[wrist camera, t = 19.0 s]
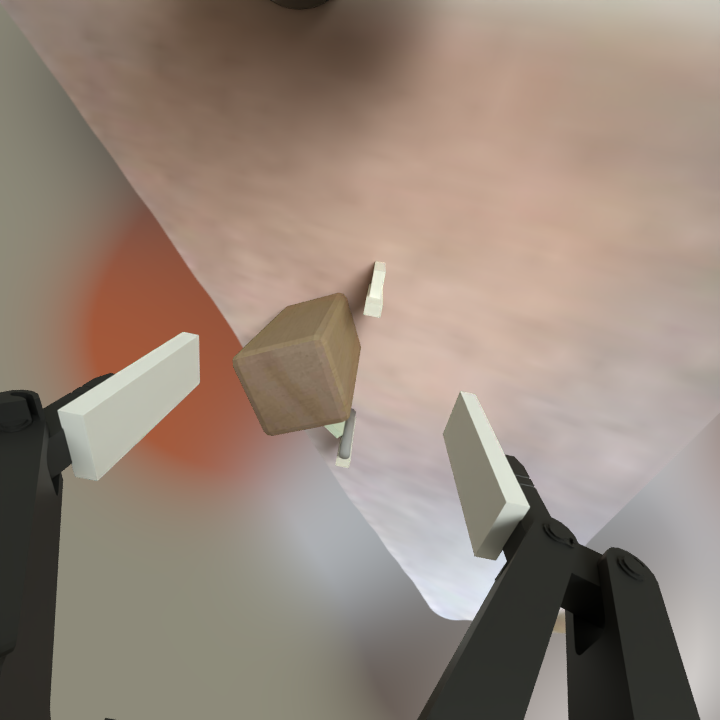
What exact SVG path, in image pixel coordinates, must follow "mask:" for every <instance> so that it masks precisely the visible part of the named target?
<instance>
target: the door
mask: <svg viewBox="0 0 720 720" xmlns="http://www.w3.org/2000/svg"><path fill="white" fill-rule="evenodd" d="M344 425H345V421H344V422H341V423H336V424H331V425H325V426H324V427H325V428H326V429H327V430H328V431H330V432H331V433H332V434H333V435H334V436H335V437H336V438H339V437H340V436H341V435H343V430H344Z"/></svg>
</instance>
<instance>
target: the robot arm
mask: <svg viewBox="0 0 720 720" xmlns="http://www.w3.org/2000/svg"><path fill="white" fill-rule="evenodd" d="M271 1H273V2H274V3H276V4H279V5H281V6H284V7H287V8H293V9H307V8H312V7H316V6H318V5H321V4H323V3H325V2H326V1H328V0H271ZM199 369H200V367H199V335H195V334H191V333H186V332H183V333H181V334H179V335H178V336H176V337H174V338H173V339H171V340H169V341H168V342H166V343H165V344H163V345H162V346H160V347H158V348H157V349H155V350H153V351H152V352H150V353H148V354H147V355H145V356H144V357H142V358H141V359H139V360H137V361H136V362H134V363H132V364H131V365H129V366H128V367H126V368H124V369H123V370H122V371H120V372H118V373H116V374H113V373H109V374H106V375H103V376H100V377H97V378H94V379H92V380H91V381H89V382H87V383H86V384H84V385H83V386H82V387H79V388H77V389H76V390H74V391H73V392H72V393H69V394H67V395H65V396H64V397H62V398H60V399H59V400H57V401H55V402H54V403H52V404H50V405H49V406H47V407H46V408H44V409H43V408H42V405H41V401H40V398H39V395H38V394H37V393H35V392H33V391H28V390H11V391H6V392H1V393H0V720H51V717H50V694H51V693H50V692H51V677H52V658H53V643H54V626H55V608H56V591H57V574H58V556H59V540H60V523H61V506H62V489H63V478H62V474H61V472H62V471H63V470H64V469H65V468H67V467H68V466H69V465H70V464H72V468H73V472H74V475H75V477H79V478H85V479H89V480H94V481H98V480H99V479H100V478H101V477H102V476H103V475H104V474H105V473H107V472H108V471H109V470H110V469H111V468H112V467H113V466H114V465H115V464H116V463H117V462H118V461H119V460H120V459H121V458H122V457H123V456H124V455H125V454H126V453H127V452H129V451H130V449H132V448H133V447H134V446H135V445H136V444H137V443H138V442H139V441H140V440H141V439H142V438H143V437H144V436H145V435H146V434H147V433H148V432H149V431H150V430H152V429H153V428H154V427H155V426H156V425H157V424H158V423H159V422H160V421H161V420H162V419H163V418H164V417H165V416H166V415H167V414H168V413H169V412H170V411H171V410H172V409H173V408H174V407H175V406H177V405H178V404H179V403H180V402H181V401H182V400H183V399H184V398H185V397H186V396H187V395H188V394H189V393H190V392H191V391H192V390H193V389H194V388H195V387H196V386H197V385H198V384H199V383H200V370H199ZM443 436H444V440H445V444H446V448H447V452H448V456H449V460H450V463H451V467H452V471H453V475H454V479H455V483H456V487H457V490H458V494H459V498H460V502H461V506H462V510H463V513H464V517H465V521H466V525H467V529H468V533H469V537H470V540H471V544H472V548H473V552H474V556H476V557H481V558H486V559H491V560H497V558H498V556H499V555H500V553H501V552H502V550H503V551H504V554H505V557H506V560H507V562H506V564H505V565H504V567H503V568H502V570H501V571H500V573H499V574H498V576H497V577H496V579H495V582H494V584H493V586H492V588H491V590H490V591H489V593H488V595H487V597H486V598H485V600H484V602H483V604H482V606H481V607H480V609H479V611H478V613H477V614H476V616H475V618H474V620H473V622H472V623H471V625H470V627H469V629H468V630H467V632H466V634H465V636H464V638H463V640H462V641H461V643H460V645H459V646H458V648H457V650H456V652H455V654H454V655H453V657H452V659H451V661H450V662H449V664H448V666H447V668H446V669H445V671H444V673H443V675H442V677H441V678H440V680H439V682H438V684H437V686H436V687H435V689H434V691H433V693H432V694H431V696H430V698H429V700H428V701H427V703H426V705H425V707H424V709H423V710H422V712H421V714H420V716H419V717H418V719H417V720H524V717H525V714H526V711H527V707H528V705H529V702H530V698H531V695H532V692H533V689H534V686H535V683H536V680H537V677H538V674H539V670H540V668H541V664H542V662H543V659H544V655H545V652H546V649H547V646H548V643H549V640H550V637H551V634H552V631H553V628H554V625H555V622H556V619H557V616H558V613H559V609H560V607H561V608H563V609H565V621H566V653H567V685H568V716H569V717H568V718H569V720H700V717H699V714H698V711H697V708H696V704H695V702H694V698H693V695H692V692H691V688H690V685H689V682H688V679H687V675H686V672H685V669H684V666H683V662H682V659H681V656H680V653H679V650H678V646H677V643H676V640H675V636H674V633H673V630H672V627H671V624H670V620H669V617H668V614H667V611H666V607H665V604H664V601H663V598H662V594H661V591H660V588H659V585H658V582H657V580H656V578H655V576H654V574H653V573H652V572H651V571H650V570H649V568H648V567H647V566H646V565H645V564H644V563H643V562H642V561H640V560H639V559H638V558H637V557H635V556H634V555H632V554H631V553H629V552H627V551H625V550H623V549H620V548H614V547H611V548H609V549H608V550H607V551H606V552H605V553H604V554H603V555H602V554H600V553H598V552H595V551H593V550H591V549H589V548H587V547H585V546H583V545H581V544H579V543H578V541H577V539H576V537H575V536H574V535H573V533H572V532H571V531H570V530H569V529H568V528H567V527H566V526H565V525H563V524H562V523H561V522H559V521H557V520H556V519H554V518H551V516H550V514H549V512H548V511H547V509H546V507H545V505H544V503H543V501H542V499H541V498H540V496H539V494H538V492H537V490H536V488H534V485H533V483H532V481H531V479H529V475H528V473H527V472H526V470H525V468H524V466H523V465H522V464H521V463H520V462H519V461H518V460H517V459H516V458H515V457H514V456H509V455H504V452H503V450H502V448H501V446H500V444H499V442H498V440H497V438H496V436H495V434H494V432H493V430H492V428H491V426H490V424H489V422H488V420H487V418H486V416H485V413H484V411H483V409H482V407H481V405H480V403H479V401H478V399H477V397H476V395H475V394H471V393H467V392H462V391H460V393H459V396H458V398H457V400H456V403H455V405H454V408H453V410H452V413H451V415H450V418H449V420H448V423H447V425H446V428H445V430H444V433H443ZM105 720H114V719H108V718H105Z"/></svg>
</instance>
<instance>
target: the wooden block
mask: <svg viewBox="0 0 720 720" xmlns="http://www.w3.org/2000/svg"><path fill="white" fill-rule="evenodd" d="M360 350H361V346H360V342H359V339H358V335H357V332H356V329H355V325H354V322H353V318H352V315H351V312H350V308H349V305H348V301H347V298H346V297H345V295H344V294H341V293H336V294H333V295H329V296H325V297H321V298H317V299H314V300H310V301H306V302H302V303H298V304H295V305H291V306H287V307H286V308H285V309H284V310H283V311H282V312H281V313H280V314H279V315H277V316H276V317H275V318H274V319H273V320H272V321H271V322H270V323H269V324H268V325H267V326H266V327H265V328H264V329H263V330H262V331H261V332H260V333H259V334H258V335H257V336H256V337H254V338H253V339H252V340H251V341H250V342H249V343H248V344H247V345H246V346H245V347H244V348H243V349H242V350H241V351H240V352H239V353H238V354H237V355H236V356H235V357H234V358H233V367H234V369H235V372H236V374H237V376H238V378H239V380H240V382H241V384H242V386H243V388H244V390H245V392H246V394H247V397H248V399H249V401H250V403H251V405H252V407H253V409H254V411H255V413H256V415H257V418H258V420H259V422H260V424H261V426H262V428H263V430H264V432H265V433H266V434H267V435H271V436H274V435H279V434H284V433H289V432H294V431H300V430H305V429H310V428H315V427H320V426H325V425H331V424H336V423H341V422H344V421H346V420H348V418H349V417H350V412H351V406H352V400H353V393H354V387H355V381H356V375H357V369H358V362H359V356H360Z"/></svg>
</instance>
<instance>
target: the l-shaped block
mask: <svg viewBox="0 0 720 720" xmlns="http://www.w3.org/2000/svg"><path fill="white" fill-rule="evenodd" d="M385 273H386V268H385V263H383V262H378V261H375V266H374V272H373V277H372V282H371V284H369V287H368V293H367V298H366V303H365V309H364V314H363V315H368V316H373V317H379V318H380V316H381V311H382V306H383V283H384V278H385ZM355 414H356V412H355V410H354V409H351V412H350V417H349V418H348V420H346V421H345V425H344V430H343V435H341V438H340V444H339V449H338V455H337V460H336V465H335V466H341V467H346V468H349V464H350V459H351V452H352V444H353V436H354V428H355V421H356V417H355Z"/></svg>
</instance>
